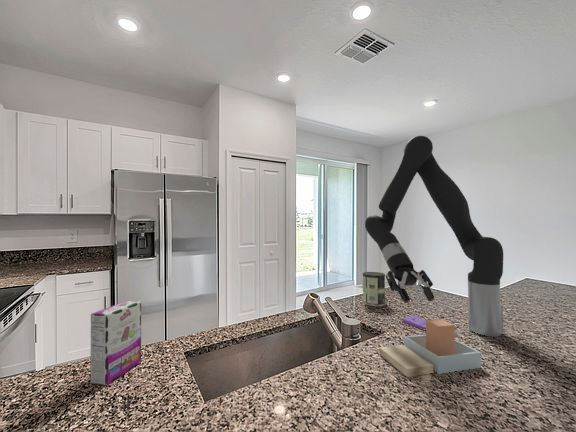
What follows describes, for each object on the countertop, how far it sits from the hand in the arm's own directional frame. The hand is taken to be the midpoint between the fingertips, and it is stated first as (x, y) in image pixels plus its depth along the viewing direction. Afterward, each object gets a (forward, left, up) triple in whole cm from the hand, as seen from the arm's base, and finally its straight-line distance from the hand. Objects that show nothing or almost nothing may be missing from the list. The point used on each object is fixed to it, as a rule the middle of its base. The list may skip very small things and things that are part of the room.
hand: (420, 300), depth 84 cm
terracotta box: (0, +8, -14) cm, 16 cm away
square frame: (0, +8, -14) cm, 16 cm away
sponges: (-13, -15, -15) cm, 25 cm away
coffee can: (-11, -45, -14) cm, 48 cm away
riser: (+11, +8, -14) cm, 20 cm away
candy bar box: (+85, -5, -14) cm, 86 cm away
